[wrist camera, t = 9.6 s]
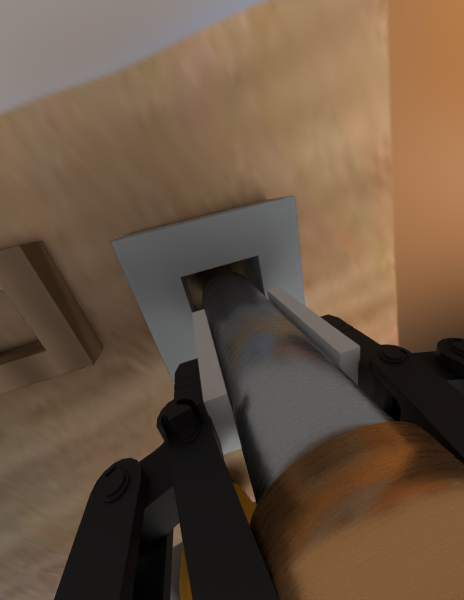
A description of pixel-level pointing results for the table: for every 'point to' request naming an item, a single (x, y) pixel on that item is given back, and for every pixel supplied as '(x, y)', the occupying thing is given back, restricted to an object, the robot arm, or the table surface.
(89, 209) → the table surface
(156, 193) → the table surface
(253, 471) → the pin
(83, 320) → the mount
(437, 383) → the robot arm
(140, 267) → the socket
